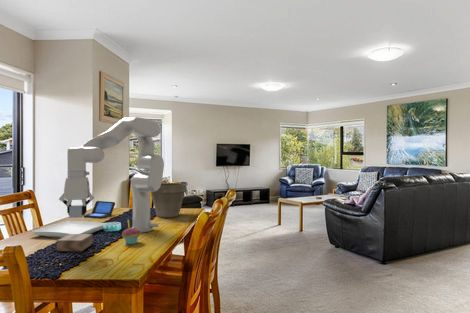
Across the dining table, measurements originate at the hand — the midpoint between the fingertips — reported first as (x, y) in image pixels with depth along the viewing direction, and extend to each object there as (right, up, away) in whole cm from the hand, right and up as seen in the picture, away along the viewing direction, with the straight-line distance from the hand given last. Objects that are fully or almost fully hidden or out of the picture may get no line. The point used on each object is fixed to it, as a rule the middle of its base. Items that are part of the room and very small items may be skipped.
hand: (77, 214), depth 149 cm
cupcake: (+22, -16, +9) cm, 28 cm away
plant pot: (+26, -14, +75) cm, 81 cm away
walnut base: (-1, -16, +1) cm, 16 cm away
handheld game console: (-20, -14, +72) cm, 76 cm away
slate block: (0, -1, 0) cm, 1 cm away
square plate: (-16, -15, +28) cm, 36 cm away
